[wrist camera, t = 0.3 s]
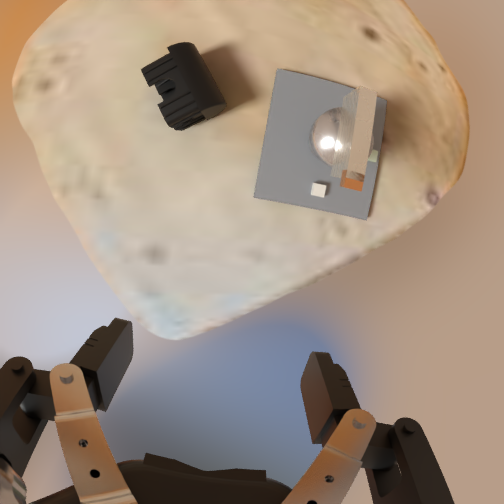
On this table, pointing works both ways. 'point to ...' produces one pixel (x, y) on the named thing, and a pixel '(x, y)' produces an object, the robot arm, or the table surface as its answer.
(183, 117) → the end cap
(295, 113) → the base
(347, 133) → the lock knob
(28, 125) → the table surface
